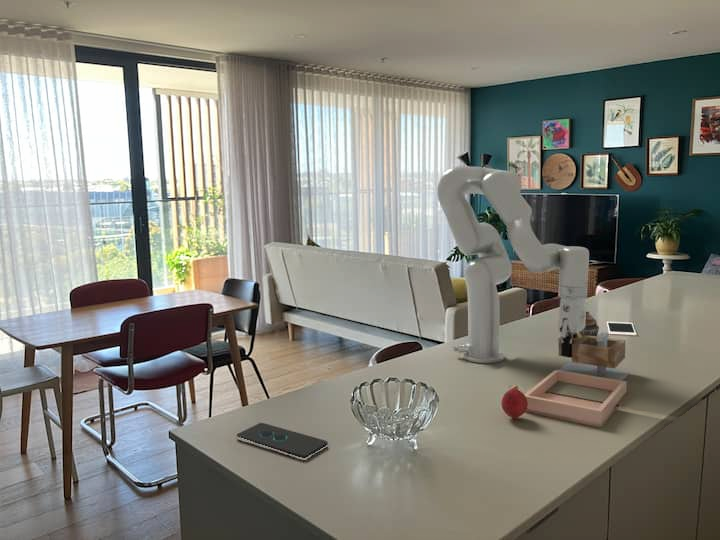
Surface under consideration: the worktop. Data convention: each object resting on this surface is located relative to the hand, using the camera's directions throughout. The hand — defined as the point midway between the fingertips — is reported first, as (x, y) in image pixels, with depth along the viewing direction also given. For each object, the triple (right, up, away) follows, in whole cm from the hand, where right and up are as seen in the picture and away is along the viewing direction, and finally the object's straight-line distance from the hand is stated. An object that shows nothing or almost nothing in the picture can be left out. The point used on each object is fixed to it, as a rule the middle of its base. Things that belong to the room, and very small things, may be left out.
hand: (569, 354), depth 166 cm
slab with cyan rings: (-76, -14, -38) cm, 86 cm away
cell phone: (+35, +2, +46) cm, 58 cm away
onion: (-23, -11, -29) cm, 39 cm away
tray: (-6, -9, -21) cm, 24 cm away
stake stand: (+5, -6, -3) cm, 8 cm away
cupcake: (+17, 0, +34) cm, 38 cm away
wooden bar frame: (+4, -1, -3) cm, 5 cm away
